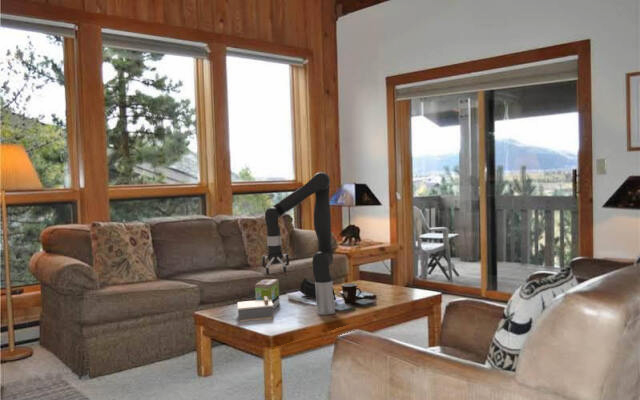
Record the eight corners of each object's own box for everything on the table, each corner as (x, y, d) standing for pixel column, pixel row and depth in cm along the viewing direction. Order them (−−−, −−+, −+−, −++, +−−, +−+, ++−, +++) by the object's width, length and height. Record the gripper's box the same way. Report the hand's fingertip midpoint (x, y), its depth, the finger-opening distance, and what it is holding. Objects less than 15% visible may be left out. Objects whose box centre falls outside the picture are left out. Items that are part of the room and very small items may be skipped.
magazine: (338, 287, 320) (306, 267, 342) (333, 288, 318) (302, 268, 340) (334, 314, 325) (303, 292, 346) (329, 315, 323) (299, 293, 344)
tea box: (272, 310, 311) (271, 284, 310) (255, 310, 313) (254, 284, 312) (280, 303, 326) (278, 278, 325) (263, 303, 328) (262, 278, 327)
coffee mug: (340, 301, 323) (339, 284, 322) (353, 299, 326) (352, 282, 326) (349, 305, 312) (348, 288, 311) (362, 303, 315) (361, 286, 315)
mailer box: (271, 311, 308) (270, 301, 307) (273, 318, 294) (272, 307, 294) (238, 314, 305) (237, 304, 305) (239, 321, 291) (238, 310, 291)
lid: (271, 300, 308) (270, 294, 307) (273, 306, 293) (272, 300, 293) (237, 303, 305) (237, 297, 304) (238, 309, 290) (237, 303, 290)
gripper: (261, 246, 295) (263, 276, 295) (288, 244, 297) (290, 274, 298) (260, 244, 302) (262, 274, 303) (286, 242, 304) (288, 271, 305)
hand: (276, 274), depth 300 cm, fingers open, 8 cm apart
